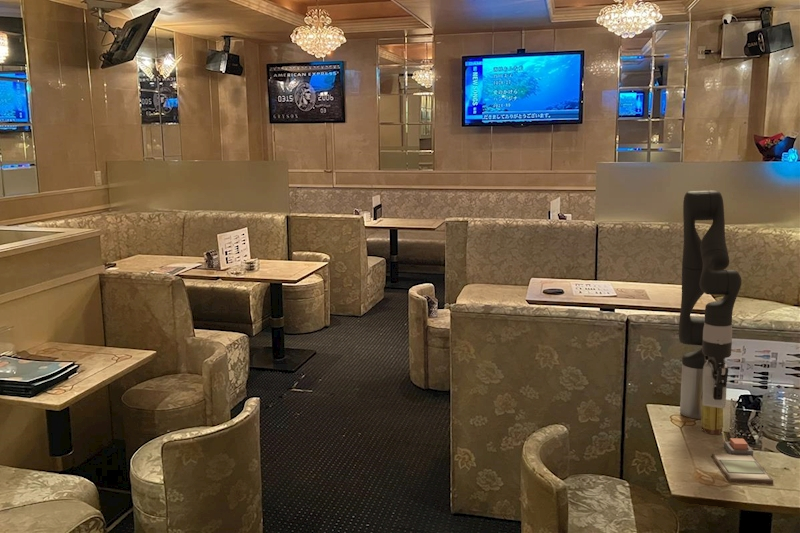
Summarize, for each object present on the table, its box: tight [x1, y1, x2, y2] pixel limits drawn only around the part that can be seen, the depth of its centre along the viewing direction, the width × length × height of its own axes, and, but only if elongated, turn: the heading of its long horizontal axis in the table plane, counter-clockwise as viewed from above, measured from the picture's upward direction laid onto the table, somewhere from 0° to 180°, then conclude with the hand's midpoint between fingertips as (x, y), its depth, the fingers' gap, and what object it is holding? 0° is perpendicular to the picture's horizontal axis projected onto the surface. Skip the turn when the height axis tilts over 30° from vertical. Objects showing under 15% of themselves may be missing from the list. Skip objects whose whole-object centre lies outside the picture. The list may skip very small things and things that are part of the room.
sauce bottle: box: [700, 391, 724, 435], centre depth 208 cm, size 6×6×20 cm
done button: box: [729, 437, 749, 450], centre depth 194 cm, size 4×4×2 cm
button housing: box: [723, 441, 754, 457], centre depth 194 cm, size 6×6×2 cm
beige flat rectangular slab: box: [710, 453, 774, 485], centre depth 184 cm, size 15×11×1 cm
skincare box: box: [702, 362, 728, 409], centre depth 192 cm, size 6×4×12 cm
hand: (714, 395), depth 192 cm, fingers closed on skincare box, 5 cm apart
